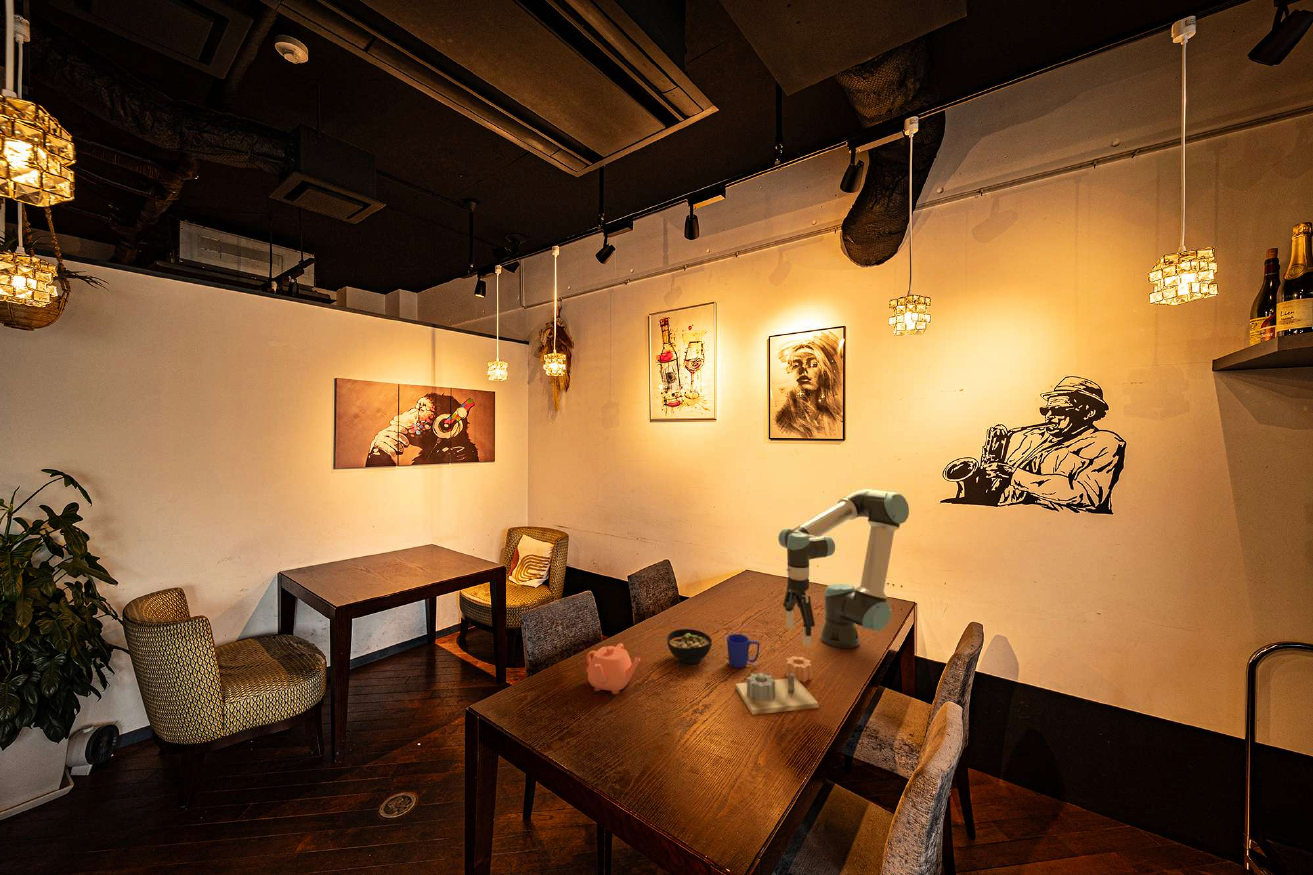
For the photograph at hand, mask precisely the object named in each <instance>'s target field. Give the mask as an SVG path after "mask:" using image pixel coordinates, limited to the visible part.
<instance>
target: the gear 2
mask: <svg viewBox="0 0 1313 875" xmlns="http://www.w3.org/2000/svg"><path fill="white" fill-rule="evenodd" d="M812 667H813V666H812V661H811V660H810V659H807V658H805V657H804V656H801V657H800V656H796V655H792V656H791V657H790V658H788V657H786V659H785V675H786V677H787V678H788V674H790V673H791V674H794V678H797V680H798V681H799V682H802V683H806V682H807V681H808V680H810V681H811V680H812V678H813V676H812V675H813V673H812V672H813V669H812Z"/></svg>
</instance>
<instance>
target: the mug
mask: <svg viewBox="0 0 1313 875" xmlns="http://www.w3.org/2000/svg"><path fill="white" fill-rule="evenodd" d="M753 644H754V645H757V649H756V655H755V658H753V659H750V657H749V651H750V647H751V645H753ZM726 646H727V656H728V664H729V665H730V666H731V667H733V668H736V669H741V668H745V667H746V666H747V665H748V662H750V663H755V662H757V660H758V658H759V653H760V642H759V641H754V640H750V638H749V637H748V636H746V635H744V634H740V633H733V634H729V635H728V636H727V637H726Z"/></svg>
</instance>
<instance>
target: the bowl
mask: <svg viewBox="0 0 1313 875" xmlns="http://www.w3.org/2000/svg"><path fill="white" fill-rule="evenodd" d="M712 640H713V639H712V638H711V637H710V635H708V634H707V633H705V632H702V631H700V630H697V629H690V628H682V629H677V630H673V631H672V632H669V633H668V636H667V640H666V641H667V647H668V650H669V651H670V653H671V654H672V655H673V656H674V657H675V658H676V660H677V661H678V663H680V664H681V665H682V666H684V667H685V666H686V667H694V666H698V665H699V664H700V663H701V662H702V660H703V659H704V658H705V657H706V656H708V654H709V653H710V650H711V648H712V643H713V641H712Z"/></svg>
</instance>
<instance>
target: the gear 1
mask: <svg viewBox="0 0 1313 875" xmlns="http://www.w3.org/2000/svg"><path fill="white" fill-rule="evenodd" d="M759 676H762V677H764V683H763V682H758V677H759ZM746 679H747V680H746V683H747V694H750V698H751V699H756V700H759V702H763V701H767V700H769V701H772V697H775V680H776V679H773V675H771V674H769V675H767V674H766V673H763V672H759V673H753V672H752V673H750V676H748V677H747V678H746Z"/></svg>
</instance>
